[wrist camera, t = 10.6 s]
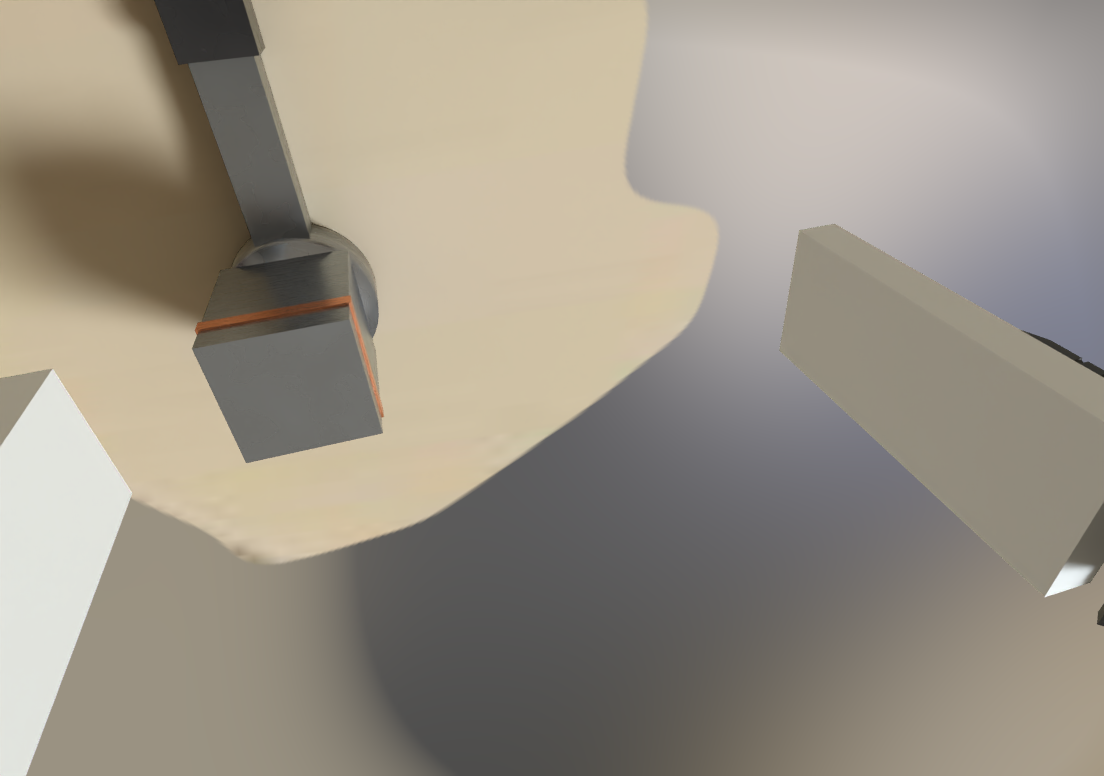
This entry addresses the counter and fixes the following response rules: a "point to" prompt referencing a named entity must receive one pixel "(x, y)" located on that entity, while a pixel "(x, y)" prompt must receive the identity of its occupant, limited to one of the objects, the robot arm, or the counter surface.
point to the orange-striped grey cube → (291, 355)
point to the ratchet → (253, 135)
